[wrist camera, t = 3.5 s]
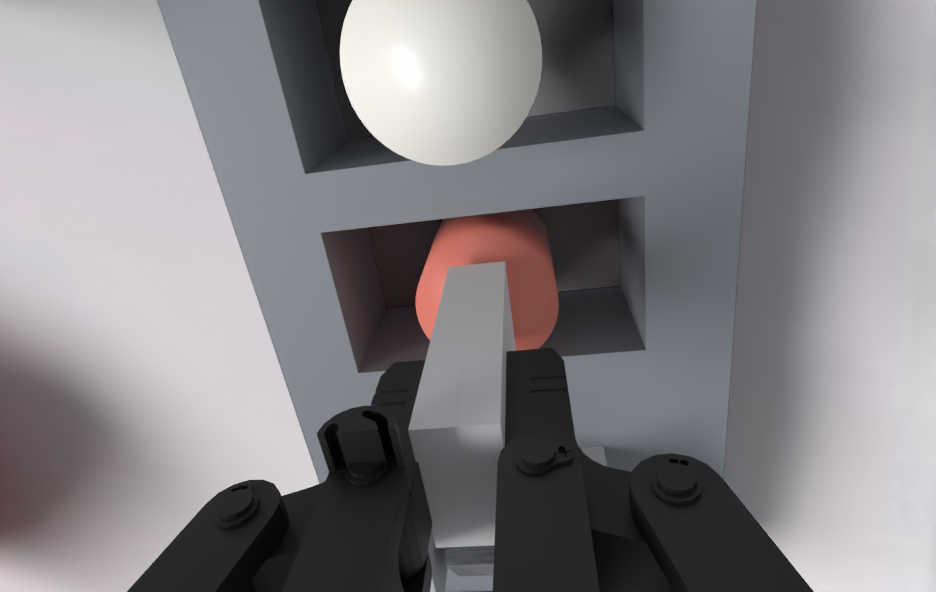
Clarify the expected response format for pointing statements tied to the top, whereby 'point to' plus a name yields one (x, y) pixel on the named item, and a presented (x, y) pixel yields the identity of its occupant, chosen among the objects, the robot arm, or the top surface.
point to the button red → (497, 241)
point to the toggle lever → (471, 560)
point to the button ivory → (441, 74)
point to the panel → (483, 192)
